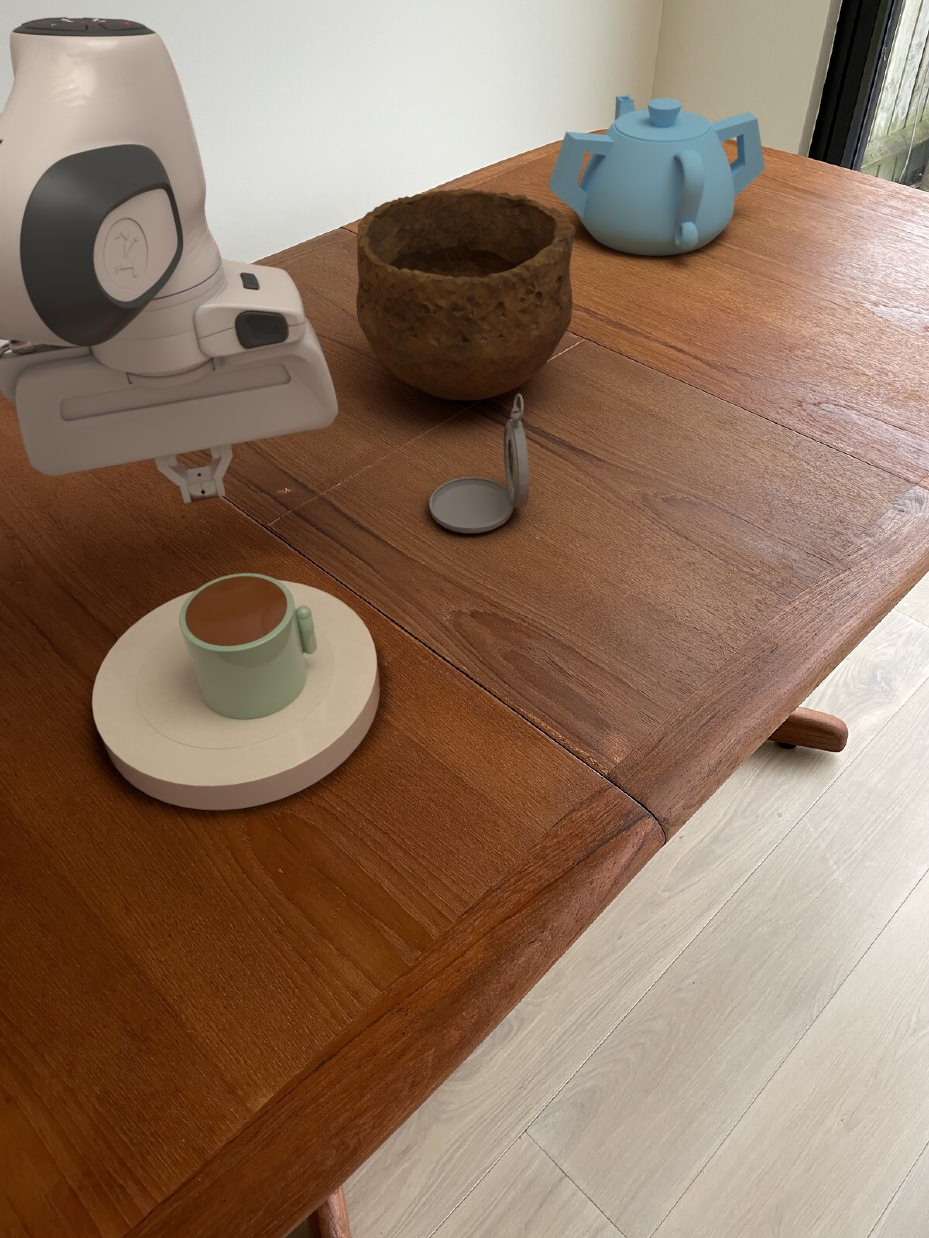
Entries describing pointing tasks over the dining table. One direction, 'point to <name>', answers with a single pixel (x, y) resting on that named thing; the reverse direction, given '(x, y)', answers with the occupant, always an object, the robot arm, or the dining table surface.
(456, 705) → the dining table surface
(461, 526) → the pocket watch
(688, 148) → the teapot
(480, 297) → the bowl
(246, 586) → the teacup
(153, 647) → the plate
